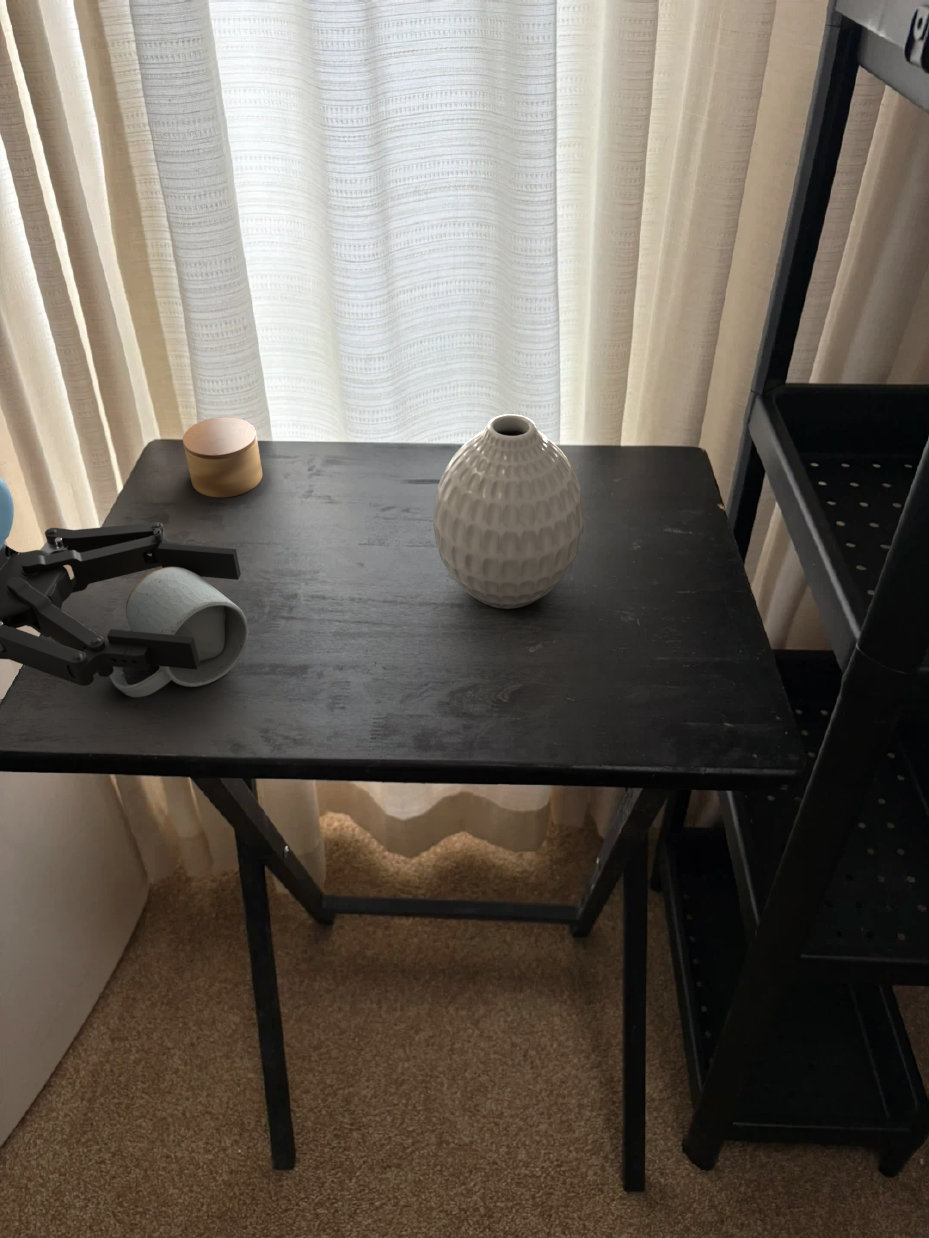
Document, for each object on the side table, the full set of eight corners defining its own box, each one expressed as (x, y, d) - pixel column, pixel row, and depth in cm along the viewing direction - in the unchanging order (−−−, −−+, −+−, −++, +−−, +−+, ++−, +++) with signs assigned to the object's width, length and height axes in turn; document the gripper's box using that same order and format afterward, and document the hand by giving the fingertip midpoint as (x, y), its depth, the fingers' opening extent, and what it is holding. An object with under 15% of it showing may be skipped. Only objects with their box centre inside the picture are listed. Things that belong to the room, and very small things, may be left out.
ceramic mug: (205, 610, 91) (187, 541, 85) (257, 658, 86) (242, 589, 81) (94, 669, 85) (68, 599, 80) (143, 723, 81) (119, 653, 76)
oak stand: (193, 502, 103) (184, 459, 100) (189, 463, 108) (180, 422, 105) (266, 491, 104) (259, 449, 101) (258, 454, 109) (252, 412, 106)
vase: (476, 653, 87) (478, 488, 75) (411, 567, 95) (403, 408, 84) (605, 606, 91) (624, 444, 80) (532, 528, 99) (539, 372, 88)
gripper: (28, 536, 95) (262, 555, 93) (-104, 716, 78) (178, 745, 76) (3, 468, 90) (251, 486, 88) (-144, 644, 73) (157, 673, 71)
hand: (217, 606), depth 82 cm, fingers closed on ceramic mug, 10 cm apart
